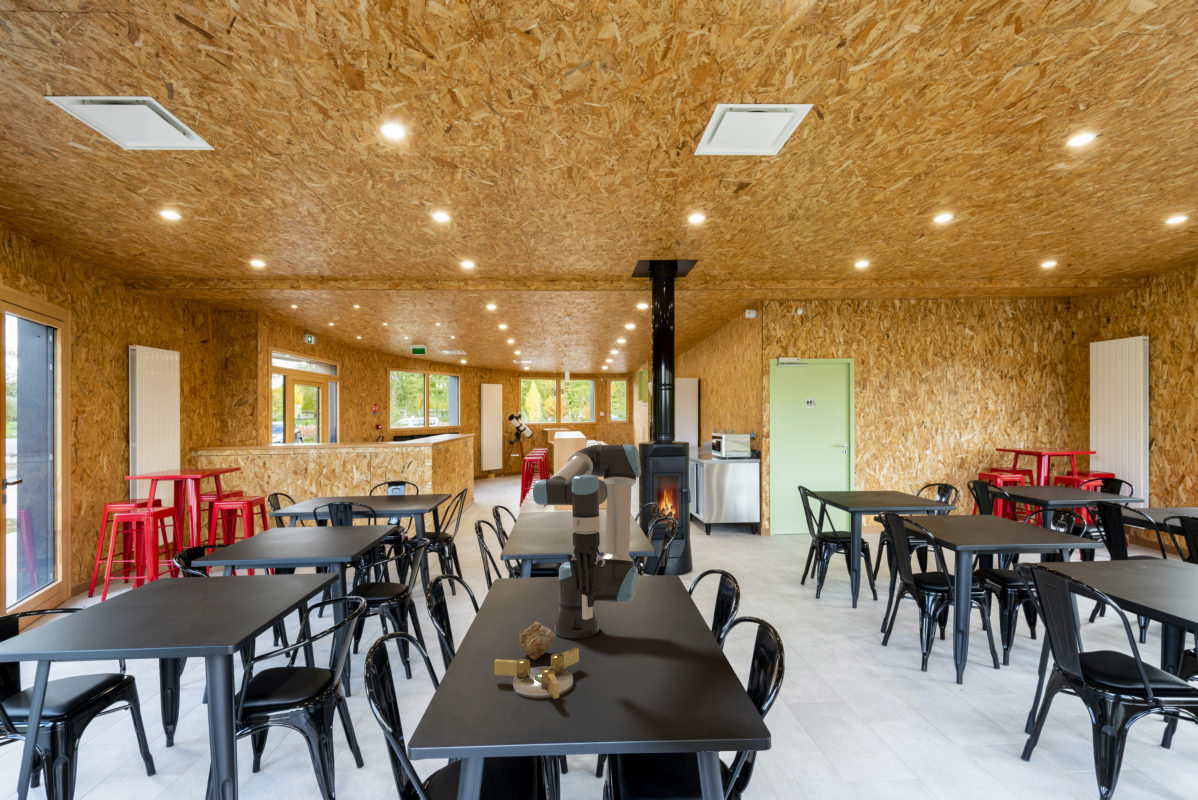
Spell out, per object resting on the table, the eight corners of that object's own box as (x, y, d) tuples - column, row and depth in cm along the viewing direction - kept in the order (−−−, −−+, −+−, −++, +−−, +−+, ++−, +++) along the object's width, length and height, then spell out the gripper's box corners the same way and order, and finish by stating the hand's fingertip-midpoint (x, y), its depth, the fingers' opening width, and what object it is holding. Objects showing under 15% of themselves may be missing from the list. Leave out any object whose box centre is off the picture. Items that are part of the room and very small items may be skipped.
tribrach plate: (500, 686, 153) (500, 674, 153) (543, 667, 165) (543, 656, 166) (542, 704, 143) (542, 691, 143) (585, 682, 155) (585, 670, 155)
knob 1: (531, 674, 157) (531, 659, 157) (527, 679, 153) (527, 664, 153) (497, 672, 158) (497, 657, 159) (492, 677, 155) (492, 662, 155)
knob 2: (539, 684, 150) (539, 668, 150) (553, 682, 151) (552, 666, 152) (549, 700, 141) (549, 684, 141) (563, 698, 142) (563, 681, 142)
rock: (559, 652, 177) (559, 619, 177) (546, 665, 167) (545, 630, 167) (524, 648, 180) (524, 615, 181) (509, 661, 171) (508, 626, 171)
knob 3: (557, 674, 156) (557, 659, 156) (548, 671, 158) (548, 656, 158) (581, 663, 163) (581, 649, 164) (572, 660, 166) (572, 646, 166)
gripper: (559, 531, 161) (561, 616, 160) (594, 535, 153) (596, 626, 151) (577, 527, 167) (579, 610, 165) (612, 531, 158) (614, 619, 157)
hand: (587, 617), depth 158 cm, fingers closed
